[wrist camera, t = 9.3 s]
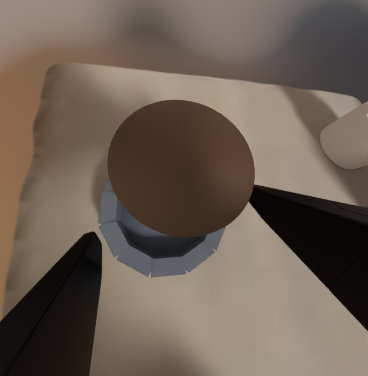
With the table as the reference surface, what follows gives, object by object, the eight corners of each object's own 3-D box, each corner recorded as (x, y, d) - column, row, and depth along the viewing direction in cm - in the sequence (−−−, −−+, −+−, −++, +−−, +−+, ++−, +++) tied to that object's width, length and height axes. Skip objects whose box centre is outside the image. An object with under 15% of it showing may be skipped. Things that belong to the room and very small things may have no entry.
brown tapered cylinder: (186, 231, 16) (260, 241, 4) (142, 228, 16) (89, 231, 4) (189, 189, 18) (250, 113, 6) (148, 185, 17) (123, 88, 5)
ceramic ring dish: (189, 289, 16) (195, 302, 13) (83, 232, 15) (67, 233, 13) (231, 190, 20) (242, 184, 17) (148, 143, 19) (146, 130, 17)
